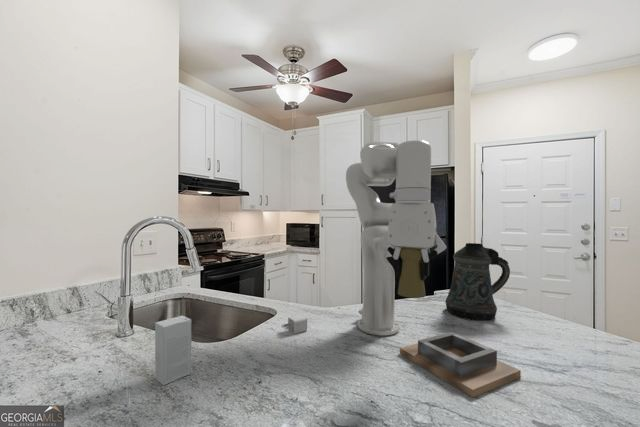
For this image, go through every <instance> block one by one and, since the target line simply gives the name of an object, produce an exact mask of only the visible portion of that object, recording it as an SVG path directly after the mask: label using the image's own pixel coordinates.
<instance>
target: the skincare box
mask: <svg viewBox="0 0 640 427" xmlns="http://www.w3.org/2000/svg"><path fill="white" fill-rule="evenodd" d="M154 337H155V339H154V342H155V343H154V344H155V346H154V350H155V351H154V352H155V354H154V355H155V357H154V358H155V362H154V363H155V365H154V366H155V379H156V380H157V381H158V382H159V383H160V384H162V386H165V385H167V384H170V383H172V382H175V381H177V380H179V379H182V378H184V377H186V376H188V375H191V374H192V318H189V317H187V316H184V315H180V316H179V315H178V316H176V317H172V318H167V319H164V320H160V321H156V322H154Z"/></svg>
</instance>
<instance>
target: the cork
mask: <svg viewBox="0 0 640 427" xmlns="http://www.w3.org/2000/svg"><path fill="white" fill-rule="evenodd" d="M400 257H401V258H402V267H401V277H399V280H398V282H399V283H398V289H397V294H398V295H399V296H401V297H405V298H408V299H409V298H410V299H421V298H424V297H426V288H425V280H421V262H422V259H423V256H422V252H421V249H418V248H404V247H402V248H401V251H400Z"/></svg>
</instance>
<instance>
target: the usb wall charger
mask: <svg viewBox="0 0 640 427" xmlns="http://www.w3.org/2000/svg"><path fill="white" fill-rule="evenodd" d="M281 327H282V328H284V330H285V331H286V330H288V331H289V332H290V333H291V334H293V335H297V334H300V333H305V332H307V331H308V319H307V317H306V316H305V315H302V314H301V315H296V316H295V315H294V316H290V317H288V320H287V323H285V324H281Z"/></svg>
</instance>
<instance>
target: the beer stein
mask: <svg viewBox="0 0 640 427" xmlns="http://www.w3.org/2000/svg"><path fill="white" fill-rule="evenodd" d="M453 260H454V267H453V273H452V279H451V283H450V288H449V291H448V294H447V297H446V298H445V306H446V311H447V313H448V314H449V315H450V316H452V317H457V318H459V319H464V320H469V321H476V322H488V321H493V320H495V319H496V315H497V310H498V307H497V305H496V303H495V300H494V297H493V295H495V294H496V293H497V292H499V291H500V290H501V289H502V288H503V287H504V286H505V285H506V284H507V282H508V280H509V279H510V275H511V269H510V265H509V262H508V261H507V260H506V259H504V258H502V257H500V256H499V252H498V251H496V250H495V249H494V248H491V247H485V246H483V243H476V242H474V243H473V242H469V243H468V242H467V243H465V246H463V247H462V248H460V249H458V250H457V251H456V252H454V254H453ZM490 265H491V266H499V267H500V269H501V270H502V271H501V274H500V277H499V278H498V279H497V280H496V281H495V282H493V284H492V278H491V272H490V271H491V270H490Z"/></svg>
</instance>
